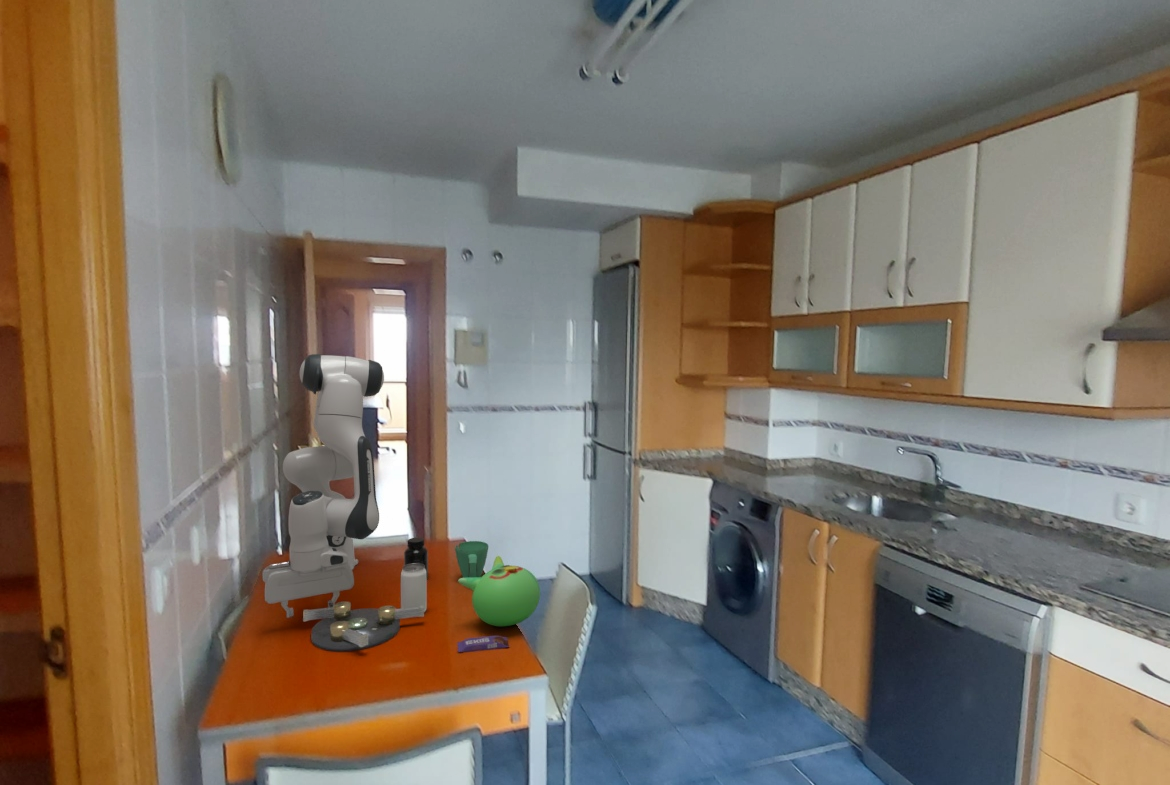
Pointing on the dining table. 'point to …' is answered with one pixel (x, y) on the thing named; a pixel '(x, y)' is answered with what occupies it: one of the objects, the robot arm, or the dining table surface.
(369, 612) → the levelling plate
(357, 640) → the front knob
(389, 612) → the left knob
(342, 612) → the back knob
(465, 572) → the mug
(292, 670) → the dining table surface
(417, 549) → the supplement bottle
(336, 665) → the dining table surface
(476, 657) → the dining table surface
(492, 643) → the snack package
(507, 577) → the toy bird
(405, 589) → the can
